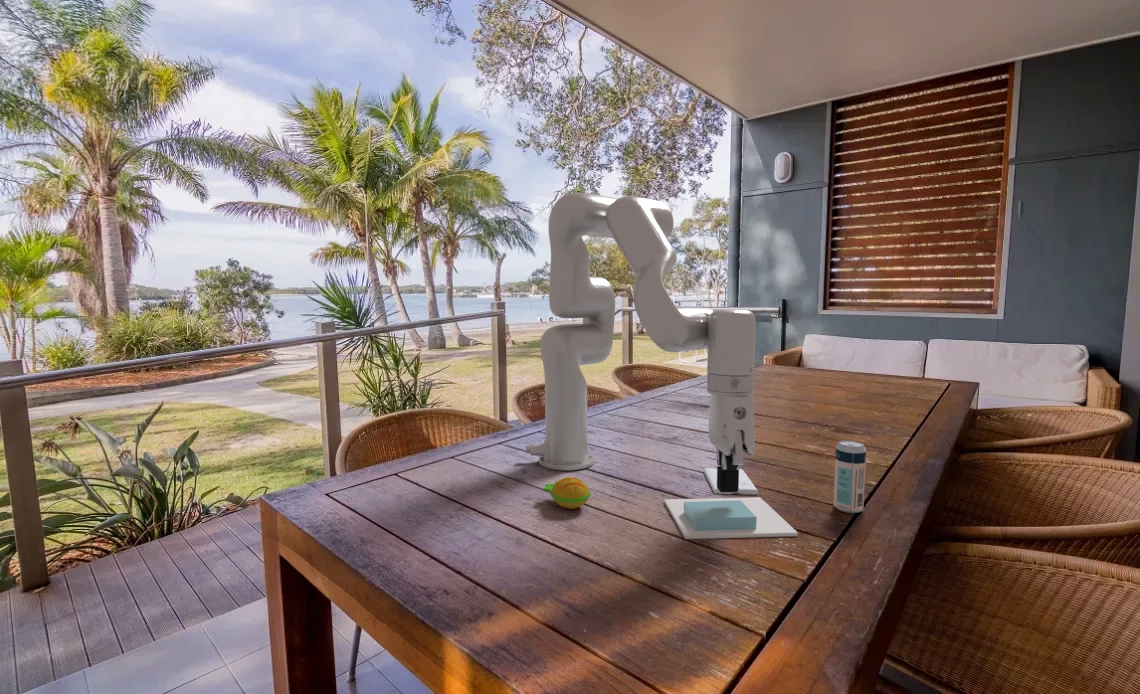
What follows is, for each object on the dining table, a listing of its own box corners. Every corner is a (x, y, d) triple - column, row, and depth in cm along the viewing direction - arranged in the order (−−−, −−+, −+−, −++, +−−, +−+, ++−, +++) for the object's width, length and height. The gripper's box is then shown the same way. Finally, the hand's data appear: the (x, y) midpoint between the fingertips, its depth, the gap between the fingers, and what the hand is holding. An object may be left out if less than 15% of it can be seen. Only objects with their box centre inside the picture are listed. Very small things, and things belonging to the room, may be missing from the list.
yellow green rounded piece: (568, 518, 93) (567, 488, 92) (536, 501, 101) (535, 473, 100) (598, 509, 97) (598, 480, 97) (565, 493, 105) (565, 466, 105)
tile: (683, 513, 94) (695, 530, 87) (683, 501, 93) (695, 518, 86) (740, 511, 94) (756, 528, 87) (740, 500, 94) (756, 516, 87)
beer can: (860, 505, 98) (863, 441, 97) (865, 516, 93) (869, 448, 92) (831, 502, 100) (834, 438, 98) (835, 512, 95) (837, 445, 94)
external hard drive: (742, 476, 116) (757, 497, 104) (703, 475, 117) (714, 496, 104) (742, 468, 116) (758, 489, 104) (704, 467, 117) (714, 488, 104)
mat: (685, 539, 85) (685, 535, 85) (664, 502, 100) (664, 499, 100) (797, 536, 86) (797, 532, 86) (759, 500, 101) (759, 497, 101)
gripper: (770, 391, 83) (767, 507, 85) (736, 376, 98) (733, 475, 100) (722, 392, 83) (720, 508, 84) (695, 377, 97) (693, 476, 99)
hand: (727, 490), depth 92 cm, fingers closed
